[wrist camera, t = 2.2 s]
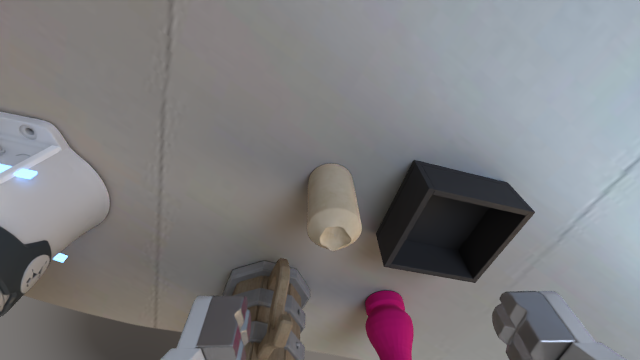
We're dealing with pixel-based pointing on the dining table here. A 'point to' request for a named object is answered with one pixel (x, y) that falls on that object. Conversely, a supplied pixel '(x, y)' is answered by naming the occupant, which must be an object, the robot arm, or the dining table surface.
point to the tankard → (272, 308)
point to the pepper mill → (389, 326)
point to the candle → (332, 208)
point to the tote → (449, 222)
